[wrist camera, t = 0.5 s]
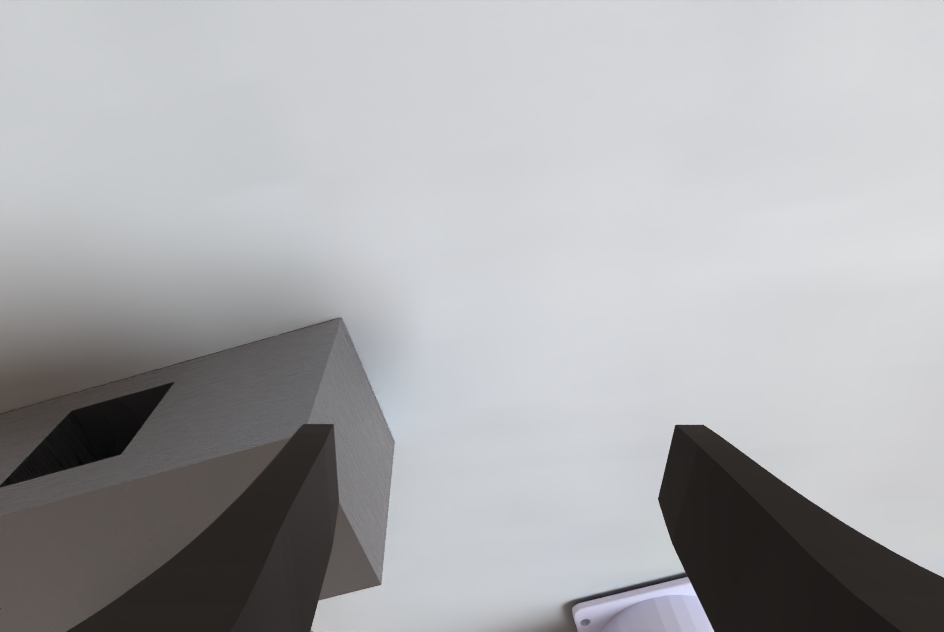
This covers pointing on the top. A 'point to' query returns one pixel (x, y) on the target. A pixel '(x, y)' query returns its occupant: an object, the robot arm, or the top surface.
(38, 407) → the block
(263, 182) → the top surface
